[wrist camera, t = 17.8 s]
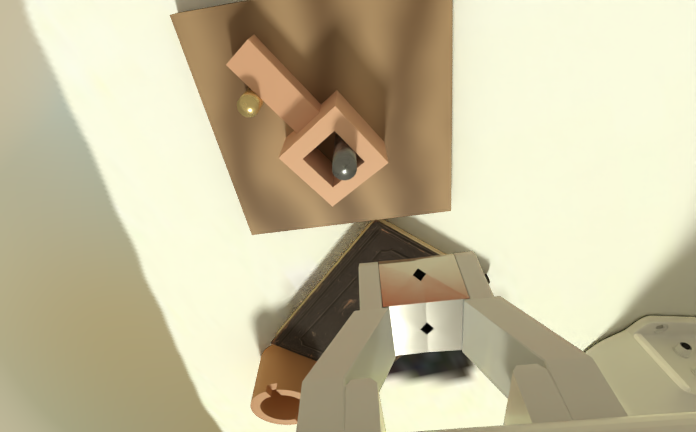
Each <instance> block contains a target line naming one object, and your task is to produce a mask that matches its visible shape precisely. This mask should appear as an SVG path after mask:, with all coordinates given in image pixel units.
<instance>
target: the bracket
mask: <svg viewBox="0 0 696 432" xmlns="http://www.w3.org/2000/svg"><path fill="white" fill-rule="evenodd" d="M316 362H317V361H315V360H312V359H310V358H307V357H305V356H302V355H299V354H297V353H294V352H292V351H289V350H286V349H284V348H281V347H279V346H276V345H271V346H269V347H268V348H266V349H265V350H264V352H263V353H262V356H261V360H260V364H259V369H258V373H257V378H256V382H255V387H254V391H253V396H252V400H251V409H252V411H253V413H254V414H255V415H256V416H258V417H259V418H261V419H263V420H265V421H268V422H271V423H275V424H283V425H291V424H297V421H298V413H299V404H300V396H301V387H302V381H303V380H304V379H305V377H306V376H307V375H308V373H309V372H310V370H311V369H312V368H313V366H314V365H315V364H316Z"/></svg>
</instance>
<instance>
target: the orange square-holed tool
mask: <svg viewBox="0 0 696 432" xmlns="http://www.w3.org/2000/svg"><path fill="white" fill-rule="evenodd" d="M226 66H228V67H229V68H230V69H231V70H232V71H233V72H234V73H235V74H236V75H237V76H238V77H239V78H240V79H241V80H242V81H243V82H244V83H245V84H246V85H247V86H248V87H249V88H250V89H251V90H252V91H253V92H255V93H256V94H257V95H258V96H259V97H260V98H261V99H262V100H263V101H264V102H265V103H266V104H267V105H268V106H269V107H270V108H271V109H272V110H273V111H274V112H275V113H276V114H277V115H278V116H279V117H280V118H282V119H283V120H284V121H285V122H286V123H287V124H288V125H289V126H290V127H291V128H292V129H293V130H294V131H293V132H292V133H290V134H289V135H288V136H287V137H286V139H285V142H284V144H283V147H282V150H281V153H280V155H279V159H280V160H281V161H282V162H283V163H285V164H286V165H287V166H288V167H289V168H290V169H291V170H292V171H293V172H295V173H296V174H297V175H298V176H299V177H300V178H301V179H302V180H303V181H305V182H306V183H307V184H308V185H309V186H310V187H311V188H312V189H313V190H315V191H316V192H317V193H318V194H319V195H320V196H321V197H322V198H323V199H325V200H326V201H327V202H328V203H329V204H330V205H331V206H332V207H333V206H334V205H335V204H336V203H338V202H339V201H340V200H342V199H343V198H344V197H345V196H347V195H348V194H349V193H351V192H352V191H353V190H354V189H356V188H357V187H358V186H360V185H361V184H362V183H363V182H365V181H366V180H367V179H369V178H370V177H371V176H372V175H374V174H375V173H376V172H377V171H379V170H380V169H381V168H383V167H384V166H385V165H386V164H388V158H387V152H386V147H385V142H384V141H383V140H382V139H381V138H380V137H379V136H378V135H377V133H376V132H375V131H374V130H373V129H372V128H371V127H370V126H369V125H368V124H367V122H366V121H365V120H364V119H363V118H362V117H361V116H360V115H359V114H358V113H357V111H356V110H355V109H354V108H353V107H352V106H351V105H350V104H349V103H348V102H347V101H346V99H345V98H344V97H343V96H342V95H341V94H340V93H339V92H338V91H337V90H336V91H335V92H334V93H333V94H332V95H331V96H330V97H329V98H328V99H327V100H325V101H324V102H323V103H322V104H320V103H319V102H318V101H317V100H316V99H315V98H314V97H313V96H312V94H311V93H310V92H309V91H308V90H307V89H306V88H305V87H304V86H303V85H302V84H301V83H300V82H299V81H298V80H297V79H296V78H295V77H294V76H293V75H292V74H291V73H290V71H289V70H288V69H287V68H286V67H285V66H284V65H283V64H282V63H281V62H280V61H279V60H278V59H277V58H276V57H275V56H274V55H273V54H272V53H271V52H270V51H269V49H268V48H267V47H266V46H265V45H264V44H263V43H262V42H261V41H260V40H259V39H258V38H257V37H256V36H255V35H253V36H251V37H250V38H249V39H248V40H247V41H246V42H245V43H244V44H243V45H242V47H241V48H240V49H239V50H238V51H237V52H236V54H235V55H234V56H233V57H232V58H231V59H230V61H229V62H228V63H227V64H226ZM334 131H335V132H336V133H337V134H338V135H339V136H340V137H341V138H342V139H343V140H344V141H345V142H346V143H347V144H348V145H349V146H350V147H351V148H352V149H353V150H354V151H355V152H356V160H357V172H356V174H355V176H354V177H353V178H351V179H349V180H340V179H338V178H336V177H335V176H334V175H333V173H332V162H331V161H330V160H329V159H328V158H327V157H326V156H325V155H324V154H323V153H322V152H321V151H320V150H318V149H317V148H316V147H317V146H318V145H319V144H320V143H321V142H322V141H324V140H325V139H326V138H327V137H328V136H329V135H330V134H331V133H333V132H334Z"/></svg>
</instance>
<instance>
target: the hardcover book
mask: <svg viewBox="0 0 696 432" xmlns="http://www.w3.org/2000/svg"><path fill="white" fill-rule="evenodd" d="M438 255H446V254H445V253H443V252H441V251H440V250H438V249H436V248H434V247H433V246H431V245H429V244H427V243H425V242H424V241H422V240H420V239H418V238H416V237H415V236H413V235H411V234H409V233H408V232H406V231H404V230H402V229H400V228H399V227H397V226H395V225H393V224H391V223H390V222H388V221H386V220H384V219H379V220H372V221H371V222H370V223H369V224H368V225H367V227H366V228H365V229H364V230H363V231H362V232H361V234H360V235H359V236H358V237H357V238H356V240H355V241H354V242H353V243H352V244H351V245H350V247H349V248H348V249H347V250H346V251H345V252H344V254H343V255H342V256H341V257H340V258H339V260H338V261H337V262H336V263H335V264H334V265H333V267H332V268H331V269H330V270H329V271H328V273H327V274H326V275H325V276H324V277H323V278H322V280H321V281H320V282H319V283H318V284H317V286H316V287H315V288H314V289H313V290H312V291H311V293H310V294H309V295H308V296H307V297H306V299H305V300H304V301H303V302H302V303H301V304H300V306H299V307H298V308H297V309H296V310H295V311H294V313H293V314H292V315H291V316H290V317H289V319H288V320H287V321H286V322H285V323H284V324H283V326H282V327H281V328H280V329H279V330H278V332H277V333H276V336H275V338H274V339H273V340H272V341H271V344H273V345H276V346H279V347H281V348H284V349H286V350H289V351H292V352H294V353H297V354H299V355H302V356H305V357H307V358H310V359H312V360H315V361H318V360H319V358H320V357H321V355H322V354H323V353H324V351H325V350H326V349H327V347H328V346H329V345H330V343H331V342H332V341H333V339H334V338H335V336H336V335H337V334H338V332H339V331H340V330H341V328H342V327H343V326H344V324H345V323H346V322H347V320H348V319H349V317H350V316H351V315H352V313H353V312H354V311H358V310H360V297H359V264H360V263H372V262H379V261H390V260H401V259H412V258H421V257H429V256H438ZM378 265H379V263H378ZM485 277H486V279H487V282H488V284H489V283H490V281H489V278H488V276H487V274H485ZM401 356H402V355H397V356H395V360H394V362H395V361H396V360H397V359H398V358H400V357H401ZM394 362H393V363H394Z"/></svg>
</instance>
